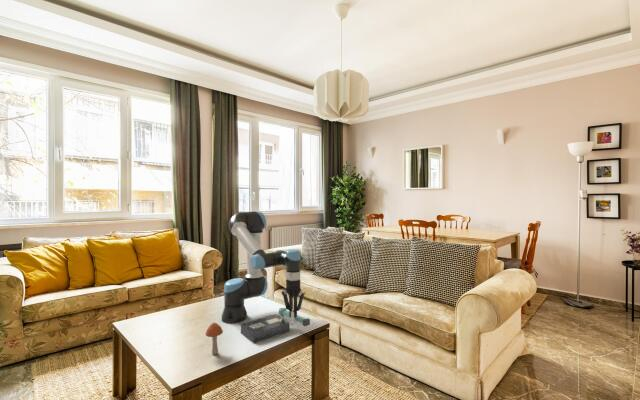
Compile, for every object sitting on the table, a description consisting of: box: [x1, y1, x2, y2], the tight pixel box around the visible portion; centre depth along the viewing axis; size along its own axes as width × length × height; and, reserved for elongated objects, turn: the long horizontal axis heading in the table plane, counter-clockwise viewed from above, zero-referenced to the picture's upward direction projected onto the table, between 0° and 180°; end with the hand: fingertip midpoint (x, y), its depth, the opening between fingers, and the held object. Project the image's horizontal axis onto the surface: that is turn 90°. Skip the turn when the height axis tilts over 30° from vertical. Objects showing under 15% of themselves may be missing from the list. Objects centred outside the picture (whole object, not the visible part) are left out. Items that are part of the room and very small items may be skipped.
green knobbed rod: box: [278, 307, 311, 327], centre depth 178 cm, size 24×4×3 cm, turn 43°
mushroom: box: [205, 322, 224, 355], centre depth 155 cm, size 8×8×15 cm
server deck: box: [240, 314, 291, 344], centre depth 179 cm, size 15×23×8 cm, turn 128°
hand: (293, 322), depth 174 cm, fingers closed
